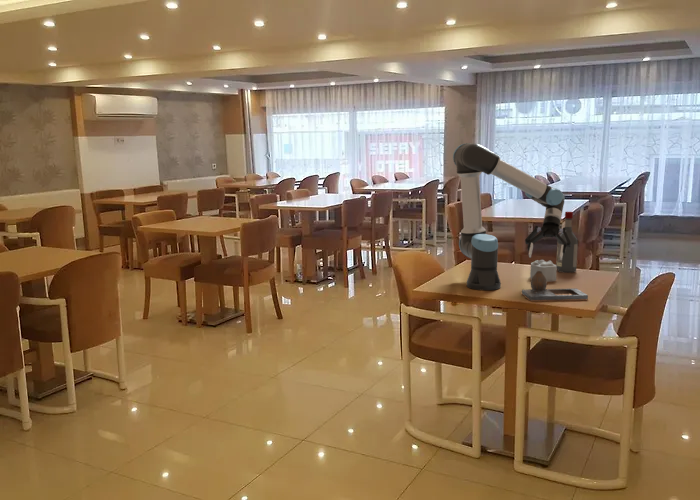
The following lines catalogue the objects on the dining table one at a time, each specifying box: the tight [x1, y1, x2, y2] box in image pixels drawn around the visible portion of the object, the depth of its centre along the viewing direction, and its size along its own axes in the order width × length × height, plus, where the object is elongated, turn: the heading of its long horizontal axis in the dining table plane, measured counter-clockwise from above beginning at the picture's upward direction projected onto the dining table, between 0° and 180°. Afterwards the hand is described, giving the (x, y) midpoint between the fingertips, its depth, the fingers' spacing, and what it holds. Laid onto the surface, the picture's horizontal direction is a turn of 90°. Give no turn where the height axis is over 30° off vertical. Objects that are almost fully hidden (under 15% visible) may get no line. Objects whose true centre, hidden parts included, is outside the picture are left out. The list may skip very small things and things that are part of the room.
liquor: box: [555, 211, 579, 274], centre depth 313 cm, size 9×9×30 cm
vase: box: [530, 271, 548, 289], centre depth 274 cm, size 7×7×9 cm
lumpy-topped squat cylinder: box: [529, 259, 558, 283], centre depth 298 cm, size 10×13×9 cm
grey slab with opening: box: [521, 288, 589, 302], centre depth 264 cm, size 24×12×2 cm, turn 92°
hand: (545, 257), depth 281 cm, fingers open, 13 cm apart
